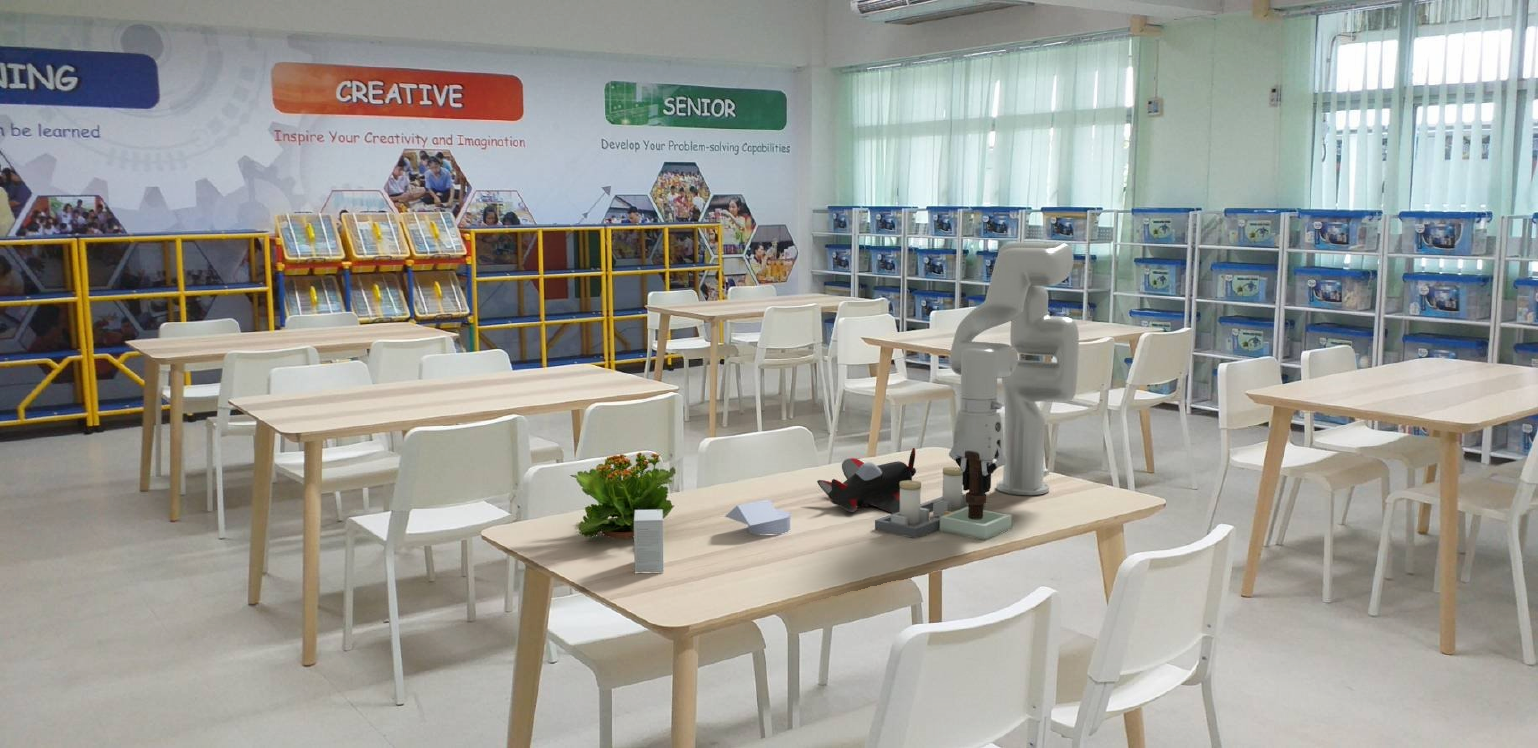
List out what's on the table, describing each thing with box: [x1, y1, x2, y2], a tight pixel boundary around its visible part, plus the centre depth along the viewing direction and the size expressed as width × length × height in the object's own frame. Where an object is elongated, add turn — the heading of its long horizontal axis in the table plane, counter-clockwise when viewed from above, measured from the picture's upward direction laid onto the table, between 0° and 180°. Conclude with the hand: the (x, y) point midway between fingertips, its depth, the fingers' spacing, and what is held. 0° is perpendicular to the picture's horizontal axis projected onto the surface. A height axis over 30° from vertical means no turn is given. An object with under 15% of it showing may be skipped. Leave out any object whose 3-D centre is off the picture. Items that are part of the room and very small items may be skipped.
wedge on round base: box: [724, 498, 791, 535], centre depth 251 cm, size 9×7×13 cm
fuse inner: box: [941, 466, 963, 512], centre depth 265 cm, size 5×5×10 cm
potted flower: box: [569, 451, 677, 539], centre depth 250 cm, size 25×24×18 cm
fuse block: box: [874, 493, 986, 539], centre depth 259 cm, size 11×28×4 cm, turn 139°
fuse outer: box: [899, 479, 922, 527], centre depth 252 cm, size 5×5×10 cm
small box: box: [633, 510, 664, 573], centre depth 226 cm, size 8×6×10 cm
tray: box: [939, 507, 1012, 541], centre depth 251 cm, size 11×11×3 cm
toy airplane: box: [816, 447, 917, 514], centre depth 273 cm, size 28×24×15 cm
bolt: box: [965, 451, 987, 520], centre depth 250 cm, size 6×5×15 cm
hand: (976, 490), depth 250 cm, fingers closed on bolt, 3 cm apart
